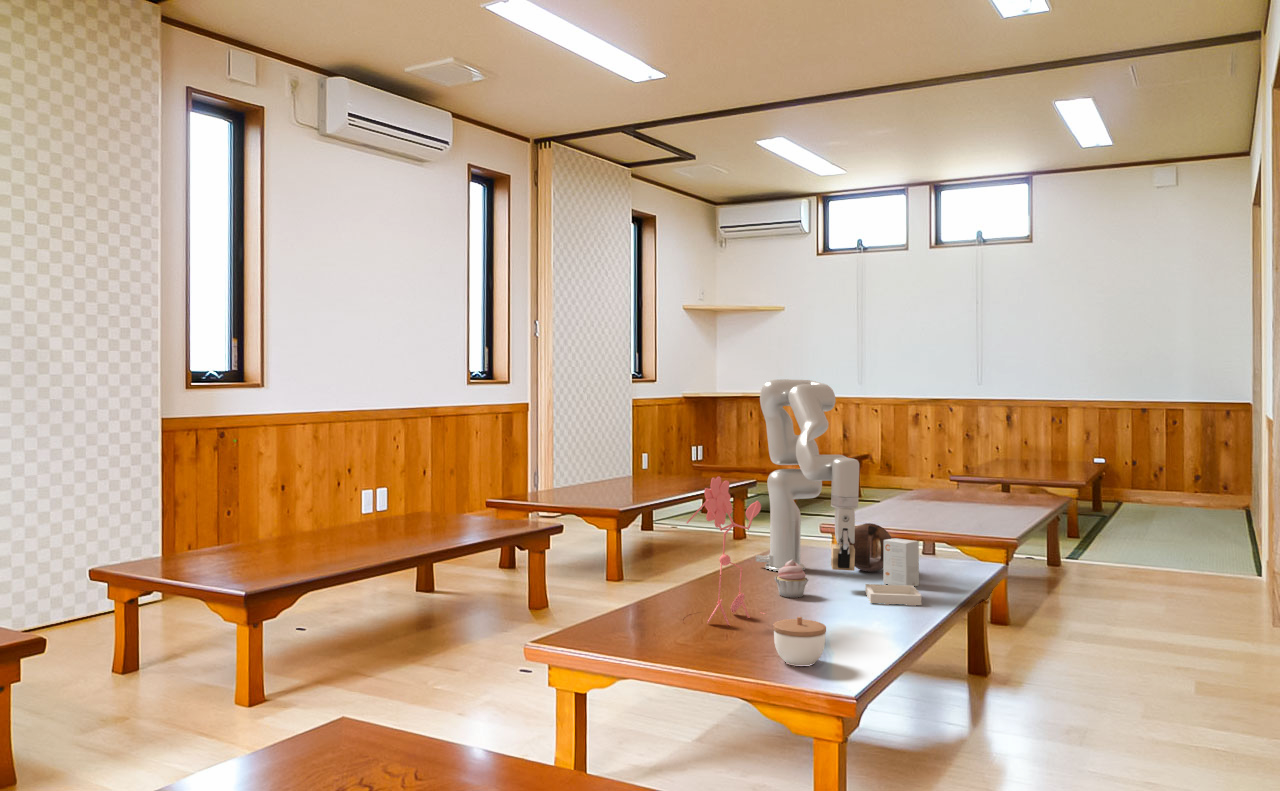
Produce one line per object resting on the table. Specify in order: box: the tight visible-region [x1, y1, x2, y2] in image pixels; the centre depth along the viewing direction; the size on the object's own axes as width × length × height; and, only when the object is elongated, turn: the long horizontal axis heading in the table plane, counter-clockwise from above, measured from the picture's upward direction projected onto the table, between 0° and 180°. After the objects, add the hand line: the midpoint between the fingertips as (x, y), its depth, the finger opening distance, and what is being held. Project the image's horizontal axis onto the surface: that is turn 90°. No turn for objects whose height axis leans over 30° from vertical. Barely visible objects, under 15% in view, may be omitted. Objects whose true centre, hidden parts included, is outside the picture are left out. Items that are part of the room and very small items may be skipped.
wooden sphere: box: [849, 522, 893, 573], centre depth 289 cm, size 15×15×15 cm
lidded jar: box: [772, 616, 827, 665], centre depth 190 cm, size 11×11×9 cm
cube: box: [830, 543, 856, 572], centre depth 261 cm, size 6×6×6 cm
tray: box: [864, 583, 922, 606], centre depth 249 cm, size 13×13×3 cm
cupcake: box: [774, 560, 809, 599], centre depth 253 cm, size 9×9×10 cm
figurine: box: [686, 476, 766, 626], centre depth 227 cm, size 15×26×35 cm, turn 141°
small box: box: [882, 538, 920, 587], centre depth 268 cm, size 8×6×13 cm
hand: (842, 564), depth 261 cm, fingers closed on cube, 6 cm apart
